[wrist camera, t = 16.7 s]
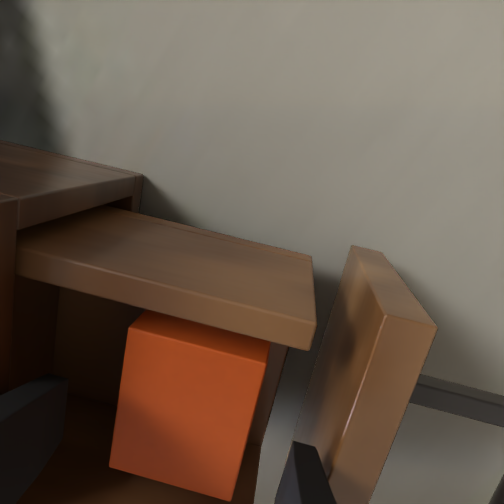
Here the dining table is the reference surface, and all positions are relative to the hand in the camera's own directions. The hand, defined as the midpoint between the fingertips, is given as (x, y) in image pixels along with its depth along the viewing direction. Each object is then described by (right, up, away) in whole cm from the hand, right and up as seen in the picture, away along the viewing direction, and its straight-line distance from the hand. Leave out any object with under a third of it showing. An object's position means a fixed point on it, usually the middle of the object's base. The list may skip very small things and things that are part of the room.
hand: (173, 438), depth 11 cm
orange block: (+1, +1, +5) cm, 5 cm away
